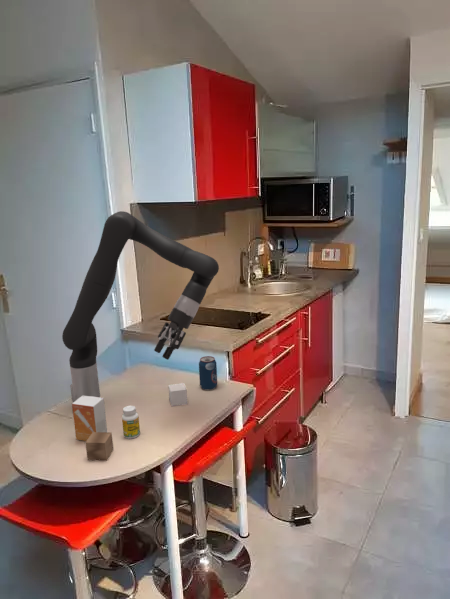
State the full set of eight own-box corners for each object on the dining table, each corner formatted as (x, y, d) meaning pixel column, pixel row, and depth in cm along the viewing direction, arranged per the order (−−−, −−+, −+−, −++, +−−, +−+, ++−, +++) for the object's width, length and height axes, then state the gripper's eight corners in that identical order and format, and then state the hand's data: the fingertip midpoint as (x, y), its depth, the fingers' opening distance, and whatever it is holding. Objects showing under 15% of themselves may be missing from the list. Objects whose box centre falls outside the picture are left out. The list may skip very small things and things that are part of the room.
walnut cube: (87, 460, 144) (85, 442, 142) (94, 449, 150) (92, 432, 148) (106, 460, 143) (104, 443, 142) (113, 449, 149) (111, 432, 147)
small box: (75, 440, 155) (71, 403, 152) (86, 430, 161) (82, 394, 158) (97, 443, 153) (93, 406, 149) (108, 433, 159) (104, 397, 155)
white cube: (187, 404, 177) (186, 389, 175) (171, 406, 176) (170, 391, 174) (185, 397, 183) (184, 382, 181) (169, 399, 181) (168, 384, 180)
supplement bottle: (136, 428, 161) (133, 402, 158) (142, 435, 156) (140, 408, 154) (121, 434, 158) (118, 407, 155) (127, 441, 153) (124, 413, 151)
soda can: (217, 390, 187) (215, 361, 184) (199, 391, 187) (197, 362, 184) (217, 383, 194) (216, 355, 191) (200, 383, 194) (199, 355, 191)
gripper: (167, 303, 164) (144, 345, 162) (182, 310, 151) (158, 356, 149) (185, 313, 167) (163, 354, 166) (201, 320, 154) (177, 365, 153)
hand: (160, 355), depth 157 cm, fingers open, 8 cm apart
